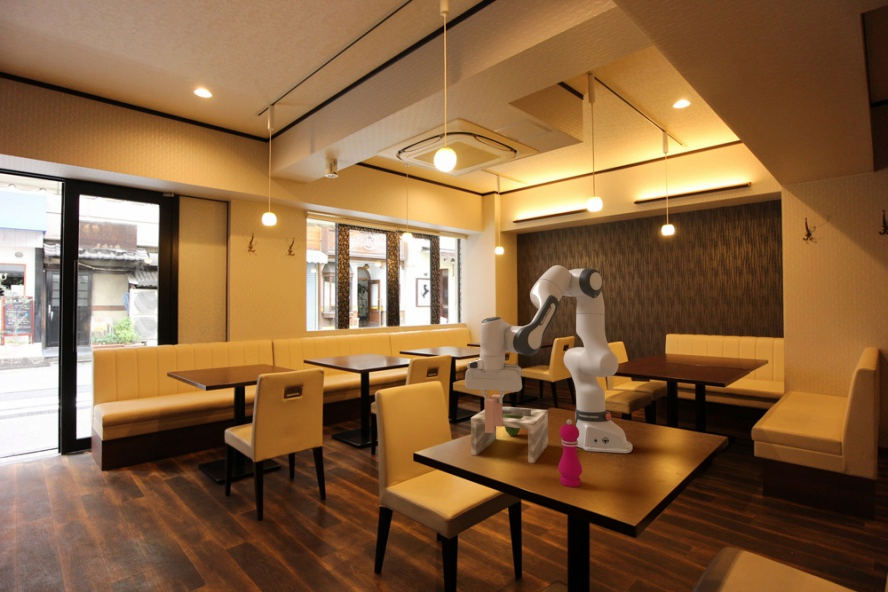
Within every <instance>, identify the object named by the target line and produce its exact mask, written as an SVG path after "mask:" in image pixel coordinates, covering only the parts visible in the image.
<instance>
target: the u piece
mask: <svg viewBox="0 0 888 592" xmlns="http://www.w3.org/2000/svg"><path fill="white" fill-rule="evenodd" d="M500 395H501V394H492V395H491V396H488V397H489V398H487V399H486V400H485V399H484V400H483V401H484V410H485V433H495V426H496V427H501V428H502V427H504V426H503V413H502V406H503V402H502V403H501V404H499V403H497V398H499V397H500Z"/></svg>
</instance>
